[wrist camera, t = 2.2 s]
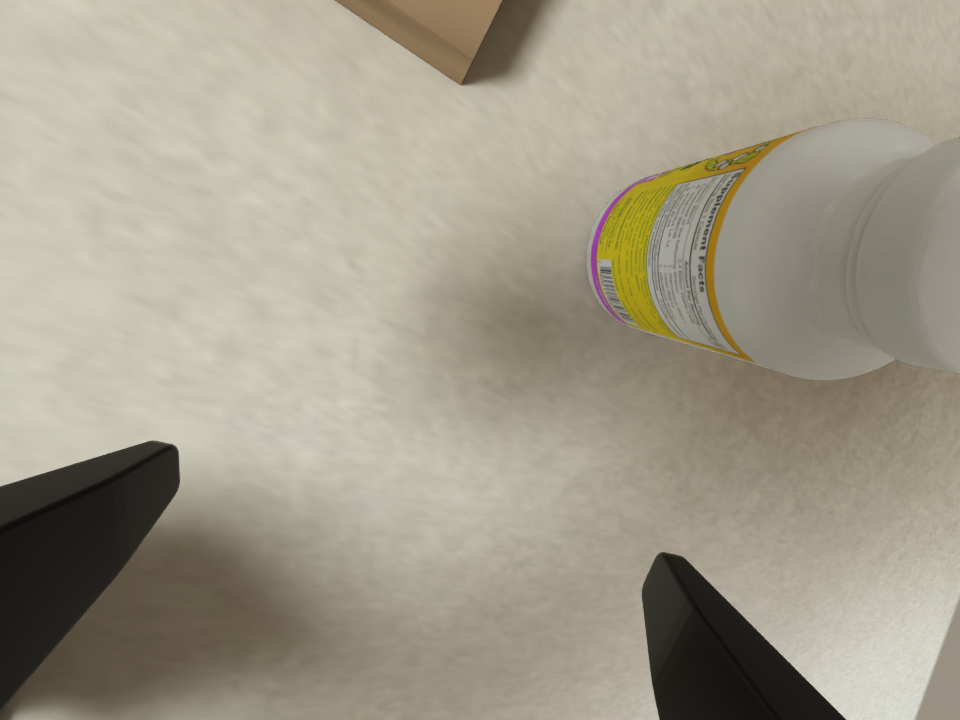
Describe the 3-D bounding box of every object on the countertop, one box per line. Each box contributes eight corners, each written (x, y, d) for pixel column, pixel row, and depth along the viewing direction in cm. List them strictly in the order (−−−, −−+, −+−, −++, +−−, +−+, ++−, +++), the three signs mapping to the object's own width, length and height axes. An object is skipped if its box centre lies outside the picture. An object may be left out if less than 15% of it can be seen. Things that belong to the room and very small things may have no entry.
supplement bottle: (737, 208, 21) (1214, 149, 9) (682, 345, 22) (1047, 458, 10) (611, 152, 20) (990, -13, 7) (558, 303, 21) (814, 378, 8)
